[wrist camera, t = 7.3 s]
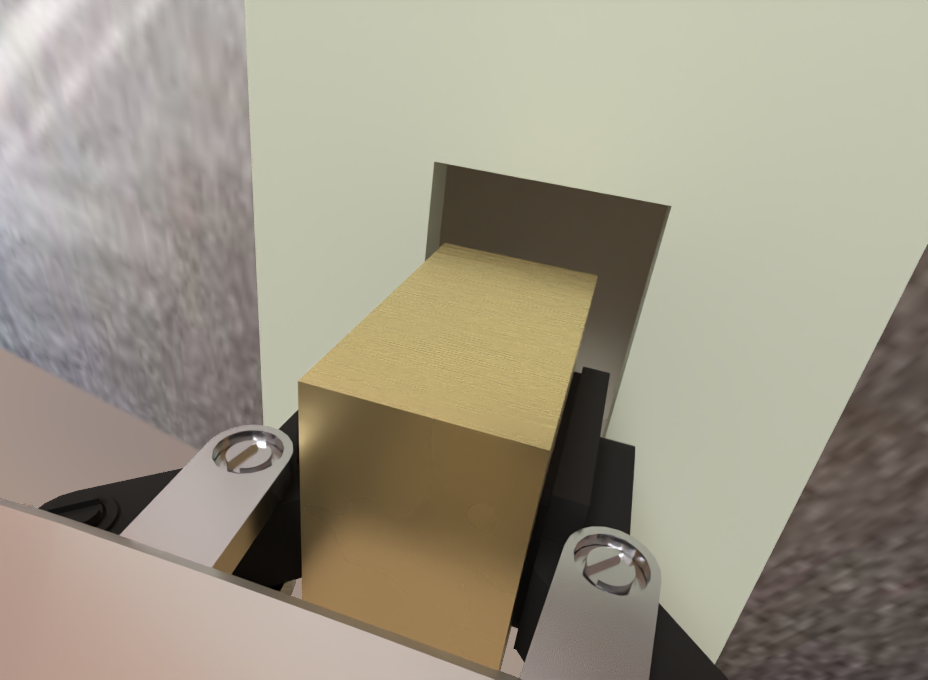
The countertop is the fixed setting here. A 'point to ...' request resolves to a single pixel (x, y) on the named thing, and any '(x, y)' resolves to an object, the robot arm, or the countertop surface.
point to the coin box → (614, 218)
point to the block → (438, 447)
